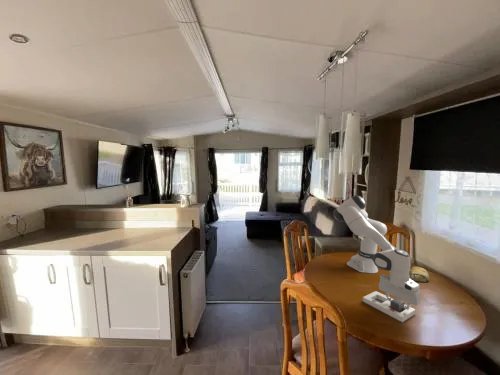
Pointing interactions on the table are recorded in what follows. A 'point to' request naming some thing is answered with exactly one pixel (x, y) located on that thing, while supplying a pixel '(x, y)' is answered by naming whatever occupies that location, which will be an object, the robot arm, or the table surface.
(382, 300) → the socket board
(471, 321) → the table surface
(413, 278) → the pastry
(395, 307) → the plug
